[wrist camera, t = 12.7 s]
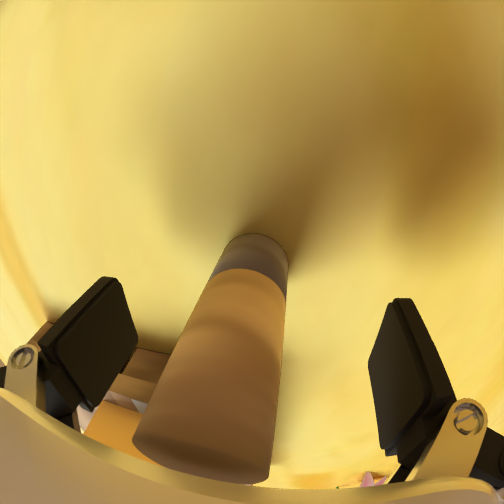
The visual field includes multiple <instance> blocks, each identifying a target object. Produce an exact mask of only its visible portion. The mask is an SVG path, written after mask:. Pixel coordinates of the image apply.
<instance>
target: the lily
mask: <svg viewBox="0 0 504 504" xmlns="http://www.w3.org/2000/svg"><path fill="white" fill-rule="evenodd" d="M385 480H386V476H385V477H383V478H382V479H381V480H379V481H378V482H377V483H375V484H374V480H373V477H372V475H371V473H370V472H369V471H367V472H366V474H365V476H364V478H363V480H362V483H361V485H360V487H368V486H376V485H383V484H384V482H385ZM336 488H337V489H339V488H338V487H336Z"/></svg>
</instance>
